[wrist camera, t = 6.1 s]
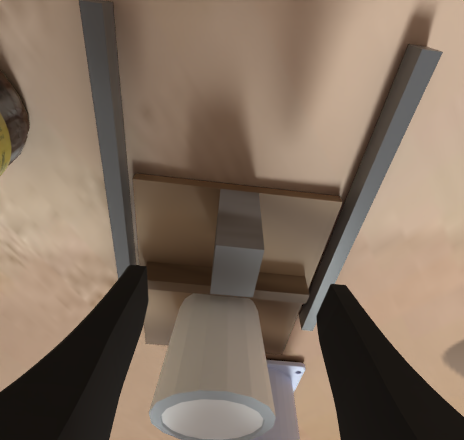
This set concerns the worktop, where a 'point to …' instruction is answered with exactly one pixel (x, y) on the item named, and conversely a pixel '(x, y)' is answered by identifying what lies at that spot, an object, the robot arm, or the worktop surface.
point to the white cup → (214, 373)
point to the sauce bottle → (11, 123)
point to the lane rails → (361, 192)
